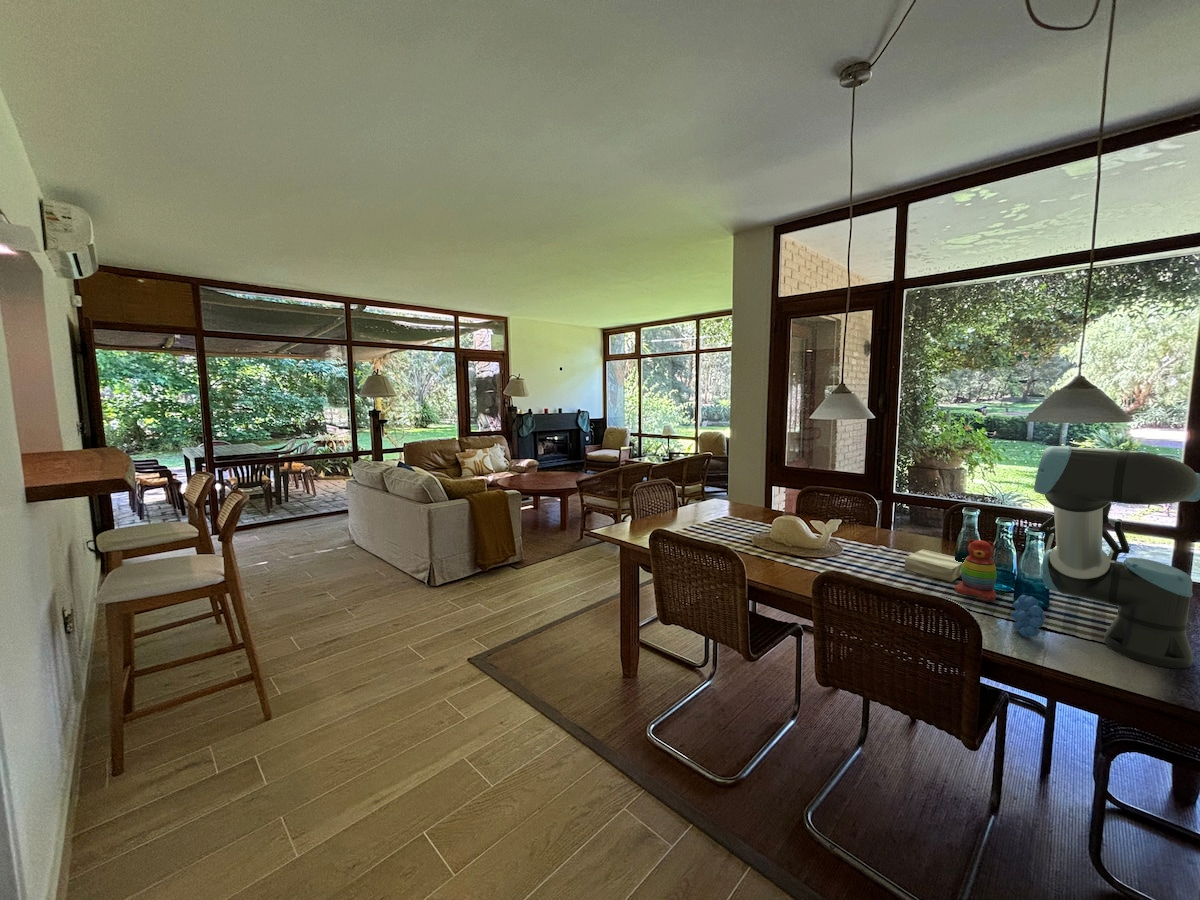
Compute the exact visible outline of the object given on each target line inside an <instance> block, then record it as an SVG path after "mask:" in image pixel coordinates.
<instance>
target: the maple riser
mask: <svg viewBox="0 0 1200 900" xmlns="http://www.w3.org/2000/svg"><path fill="white" fill-rule="evenodd" d="M955 557H956V556H953V555H949V554H945V553H940V552H936V551H932V550H928V549H924V548H922V549H921V550H918V551H916V552H913V553H912V554H910V555H907V556H906V557H905V558H904V559H905V560H904V570H906V571H910V572H914V573H917V574H921V575H924V576H928V577H932V578H936V579H939V580H943V579H944V580H943V581H946V580H947V582H950V581H951V582H953V581H955V580H956V579H958V578H960V577H961V568H962V565H963V563H962V562H958V561H956V560H955Z"/></svg>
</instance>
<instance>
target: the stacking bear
mask: <svg viewBox="0 0 1200 900" xmlns="http://www.w3.org/2000/svg"><path fill="white" fill-rule="evenodd" d="M994 546H995V545H994V542H992V541H986V540H981V539H976V540H975V539H972V538H971V539H969V540H968V546H967V550H968V554H969V555H967V556H966V557H965V558H964V559H965V560H964V562H963V565H962V568H961V576H960V577H961V580H962V582H960V583H958V584H957V585H955V587H954V592H956V591H957V592H956V593H959V594H962V595H970V596H974V597H976V598H979V599H981V600H985V601H995V600H996V599H997V593H996V591H995V590H994V587H995V584H996V582H997V578H998V577H997V576H998V574H997V567H996V564H995V561H994V559H992V557H993V555H994Z"/></svg>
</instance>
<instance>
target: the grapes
mask: <svg viewBox="0 0 1200 900" xmlns="http://www.w3.org/2000/svg"><path fill="white" fill-rule="evenodd" d="M1011 605H1012V607H1013V608H1014V609H1015V610H1013V611H1012V612H1011V613H1010V617H1011V618H1012V619H1013V620H1014V621H1015V622H1014V623H1013V627H1014V628H1015V629H1016V630H1017V631H1018V633H1020V635H1021V636H1022V637H1024V638H1030V637H1036V636H1038V635H1039V634H1040V633H1041V630H1040V629H1039V628H1042V627H1043V626H1044V624H1045V620H1046V619H1047V618H1046V616H1045V614H1044V612H1045V611H1044V610H1043V609H1044V608H1042V607H1041V606H1040V605H1039V601H1038V599H1037V598H1036V597H1033V596H1029V595H1027V594H1022V595H1020V596H1019V597H1018V598H1017V600H1015V601H1014V602H1013V603H1012V604H1011Z"/></svg>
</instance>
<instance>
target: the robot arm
mask: <svg viewBox="0 0 1200 900" xmlns="http://www.w3.org/2000/svg"><path fill="white" fill-rule="evenodd" d="M1034 481H1035V482H1034V485H1033V491H1034V492H1035V493H1037V494H1040V495H1044V498H1045V499H1046V501H1047V502H1048V503H1049V504H1050V505H1051V506H1053V513H1054V514H1053V515H1051V517H1049V518H1048V519H1047V520H1046V521H1045V522H1044V523H1042V524H1041V525H1040V526H1039V528H1038V531H1039V532H1042V533H1043V534H1044V537H1043V540H1042V543H1043V544H1046V548H1045V549H1044V553H1043V554H1044V555H1043V558H1042V563H1041V571H1042V573H1041V576H1042V582H1043V584H1044V586H1046V589H1048V590H1050V591H1053V592H1056V593H1060V594H1062V595H1066V596H1067V595H1068V596H1071V597H1076V598H1080V599H1085V600H1090V601H1093V602H1096V603H1097V602H1098V603H1101V604H1102V603H1103V604H1107V605H1111V606H1114V607H1115V606H1116V607H1118V610H1117V615H1116V617H1115V618H1114V620H1113V621H1112V622H1111V624H1110V625H1109V627H1108V628H1107V629H1106V631H1105V633H1104V640H1103V642H1104V644H1105V645H1106V646H1107V647H1108V648H1110V649H1111V650H1113V651H1115V652H1116V653H1118V654H1120V655H1122V656H1125V657H1128V658H1131V659H1132V660H1136V661H1139V662H1143V663H1146V664H1149V665H1153V666H1158V667H1162V668H1163V667H1164V668H1170V669H1187V668H1190V667H1192V666H1193V661H1194V656H1193V651H1192V648H1191V646H1190V642H1189V639H1188V636H1187V623H1188V617H1189V609H1190V605H1191V604H1190V603H1191V598H1192V597H1193V595H1194V594H1193V591H1192V590H1193V579H1192V577H1191V576H1190V575H1189V574H1188V573H1187V572H1184V571H1183V570H1181V569H1179V568H1177V567H1175V566H1171V565H1169V564H1167V563H1162V562H1159V561H1155V560H1151V559H1146V558H1142V557H1141V558H1140V557H1126V558H1125V559H1124V560H1123V561H1118V558H1119V555H1120V554H1129V553H1130V550H1131V548H1130V546H1129V543H1128V540H1127V538H1126V535H1125V532H1124V531H1123V526H1122V524H1123V520H1122V519H1120V518H1117V519H1115V518H1109V513H1110V511H1111V507H1112V503H1114V504H1115V503H1117V504H1124V505H1125V504H1126V505H1142V506H1143V505H1144V506H1145V505H1147V506H1148V505H1149V506H1151V505H1169V504H1176V503H1180V502H1192V503H1193V502H1198V501H1200V473H1199V472H1195V471H1194V469H1193V468H1191V466H1189V465H1187V464H1186V463H1183V462H1181V461H1179V460H1176V459H1173V458H1171V457H1167V456H1163V455H1159V454H1156V453H1152V452H1151V453H1150V452H1146V451H1138V450H1125V449H1124V450H1123V449H1122V450H1121V449H1115V448H1110V447H1096V448H1092V447H1090V448H1088V447H1077V446H1076V447H1073V446H1071V445H1066V446H1062V445H1061V446H1059V445H1057V446H1055V445H1051V446H1048V447H1046V448H1044V449H1043V452H1042V455H1041V457H1040V461H1039V464H1038V469H1037V472H1036V476H1035V479H1034ZM1052 524H1054V526H1052V527H1050V526H1051V525H1052ZM1107 524H1110V525H1111V527H1112V528H1114V532H1115V535H1116V537H1117V540H1118V542H1119V544H1118V543H1117V541H1116V540H1115V538H1113V536H1112V535H1111V534H1110V533H1109V531H1108V530H1107V528H1106V526H1105V525H1107ZM1048 527H1050V528H1048ZM1054 536H1055V537H1054ZM1054 538H1055V547H1053V548H1052V544H1053V540H1054ZM1103 540H1104V541H1105V542H1106V544H1107V545H1108V546H1109V547H1110V550H1109V552H1108V554H1107V553H1106V552H1105V551H1104V550H1103ZM1119 545H1120V546H1119Z"/></svg>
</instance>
